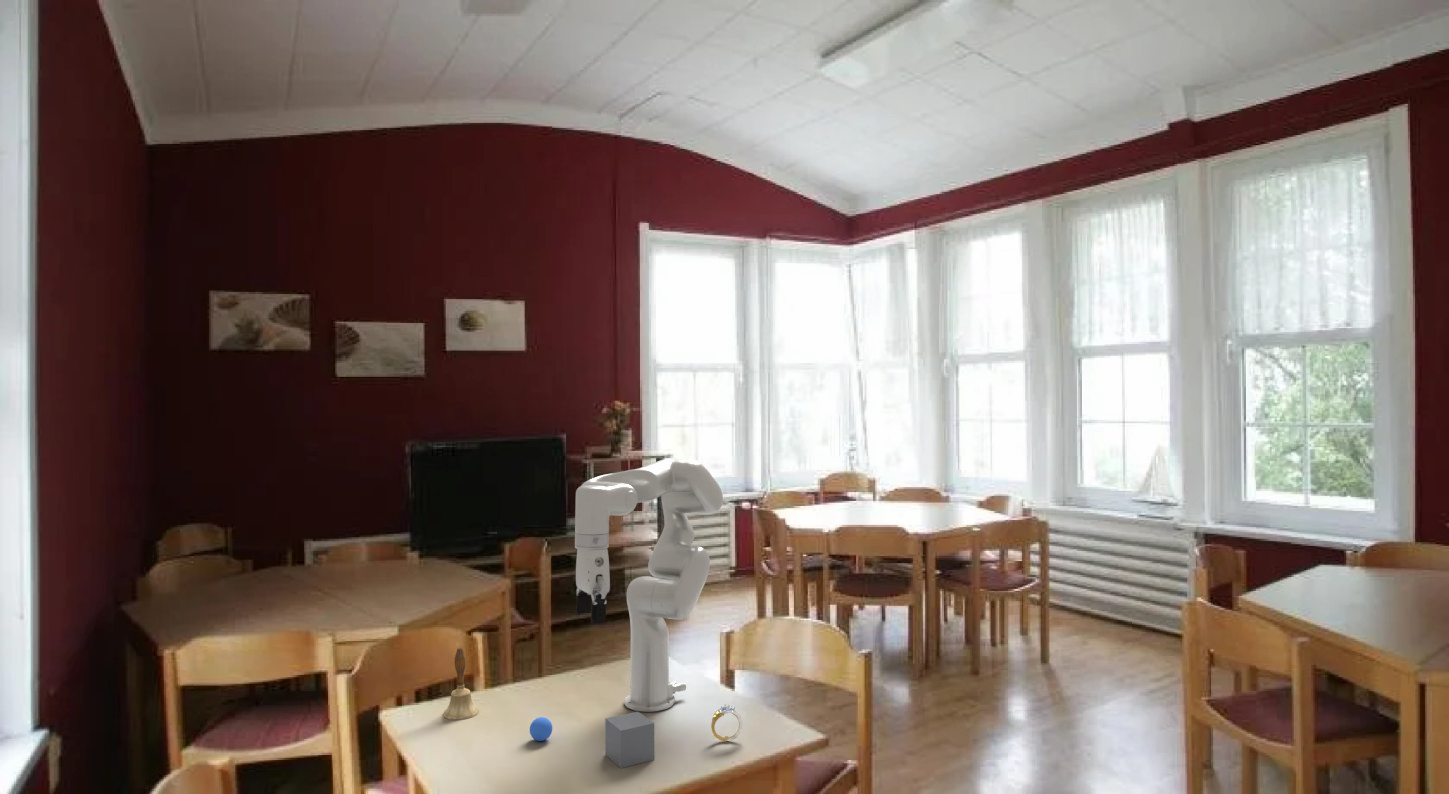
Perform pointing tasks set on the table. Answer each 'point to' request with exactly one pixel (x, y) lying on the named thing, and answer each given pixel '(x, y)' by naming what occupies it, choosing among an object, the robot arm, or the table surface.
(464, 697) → the hand bell
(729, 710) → the ring
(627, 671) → the table surface
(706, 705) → the table surface
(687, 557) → the robot arm
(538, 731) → the ball
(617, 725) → the grey cube
